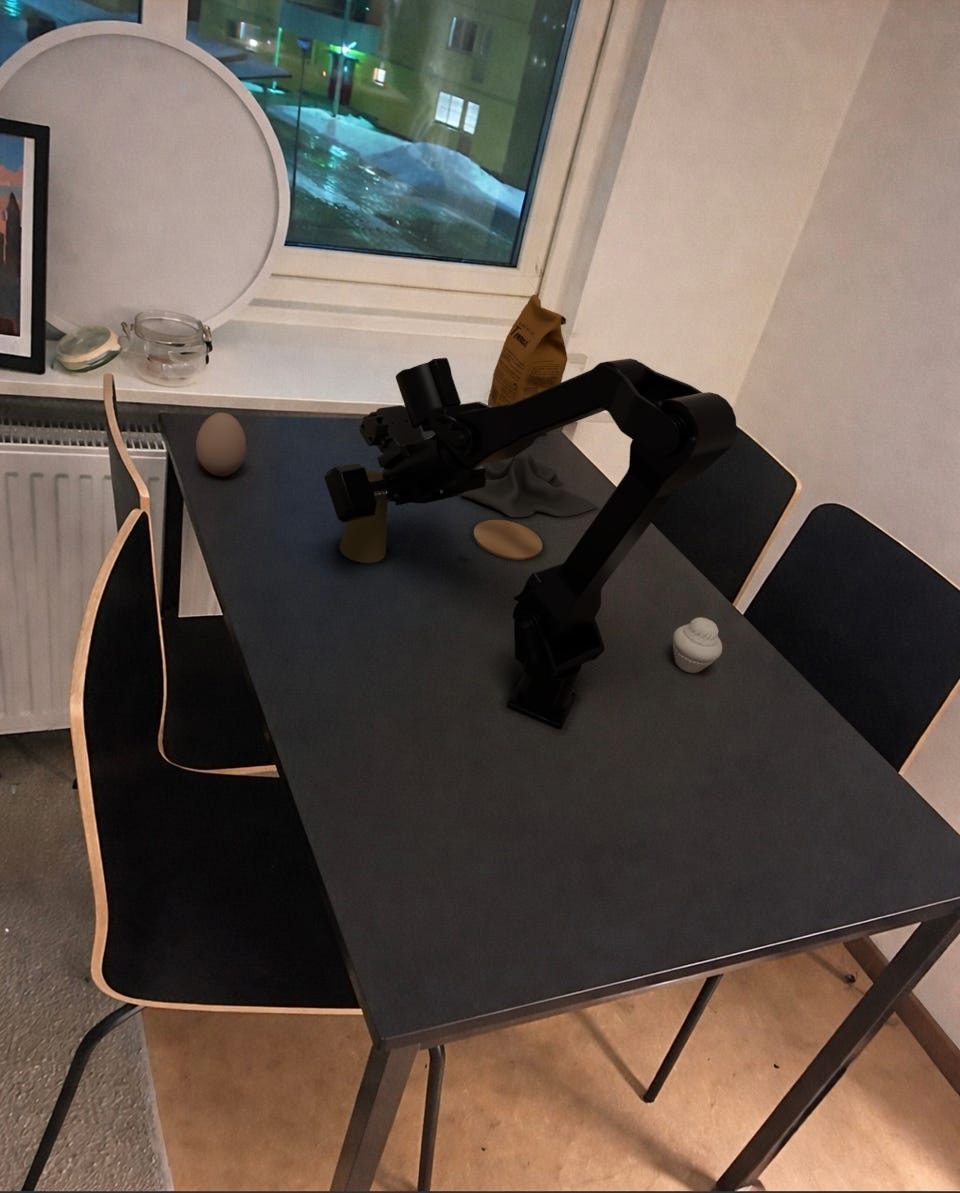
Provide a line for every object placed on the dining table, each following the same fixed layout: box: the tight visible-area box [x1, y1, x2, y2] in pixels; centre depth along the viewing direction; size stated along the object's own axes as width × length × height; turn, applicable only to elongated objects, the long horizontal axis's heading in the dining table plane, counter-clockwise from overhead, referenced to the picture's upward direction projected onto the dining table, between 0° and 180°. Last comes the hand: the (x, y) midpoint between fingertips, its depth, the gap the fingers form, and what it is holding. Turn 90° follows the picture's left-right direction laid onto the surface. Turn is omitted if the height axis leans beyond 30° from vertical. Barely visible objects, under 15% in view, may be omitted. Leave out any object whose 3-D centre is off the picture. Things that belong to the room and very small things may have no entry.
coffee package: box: [487, 294, 568, 407], centre depth 159 cm, size 10×12×22 cm
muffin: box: [672, 616, 723, 674], centre depth 111 cm, size 6×6×7 cm
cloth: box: [460, 451, 596, 518], centre depth 141 cm, size 22×19×6 cm
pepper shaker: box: [339, 470, 391, 564], centre depth 116 cm, size 6×6×11 cm
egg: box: [195, 412, 247, 477], centre depth 124 cm, size 7×7×9 cm
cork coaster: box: [472, 519, 543, 561], centre depth 129 cm, size 10×10×1 cm
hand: (363, 501), depth 116 cm, fingers open, 6 cm apart
